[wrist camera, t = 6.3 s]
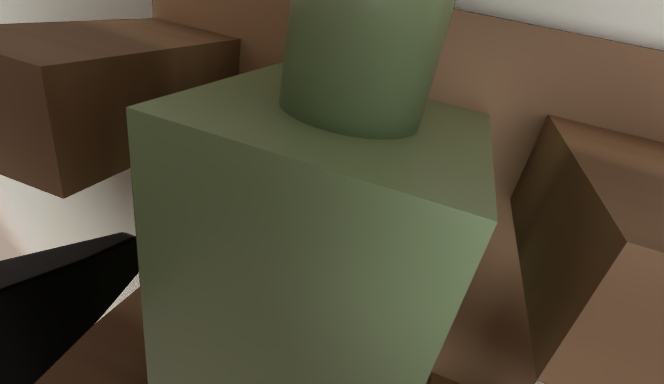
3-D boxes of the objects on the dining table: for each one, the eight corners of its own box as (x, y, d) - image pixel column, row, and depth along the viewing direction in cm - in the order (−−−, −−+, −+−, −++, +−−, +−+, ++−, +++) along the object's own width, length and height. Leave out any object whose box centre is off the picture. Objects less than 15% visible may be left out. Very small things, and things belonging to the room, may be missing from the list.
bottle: (380, 404, 13) (334, 588, 9) (251, 348, 14) (156, 491, 10) (602, -188, 6) (865, -605, 2) (312, -213, 7) (76, -520, 3)
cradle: (477, 442, 14) (474, 705, 9) (182, 316, 16) (44, 461, 11) (711, 60, 8) (1202, 177, 2) (178, -47, 10) (-136, -101, 5)
